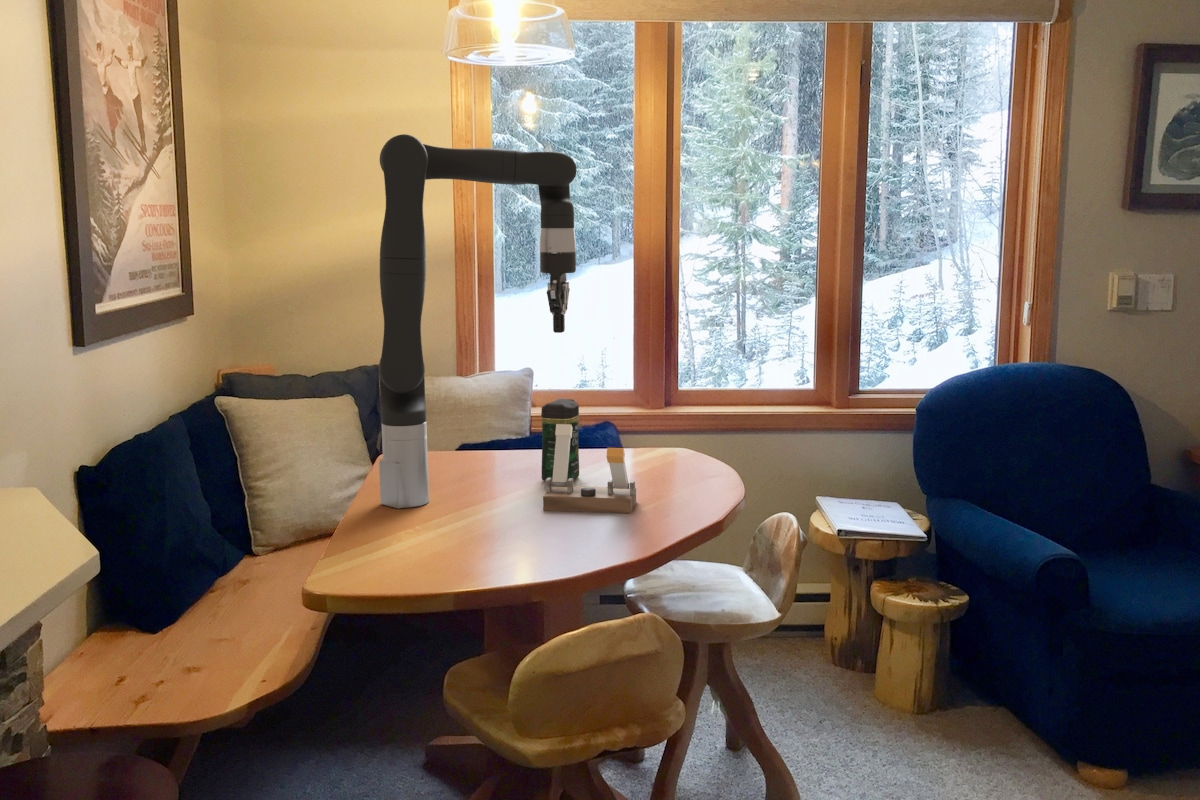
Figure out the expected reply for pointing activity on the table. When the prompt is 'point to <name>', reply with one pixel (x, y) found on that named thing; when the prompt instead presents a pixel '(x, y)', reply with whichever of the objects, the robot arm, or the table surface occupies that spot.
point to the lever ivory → (561, 455)
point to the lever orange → (617, 468)
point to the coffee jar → (550, 416)
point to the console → (589, 498)
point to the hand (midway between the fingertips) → (559, 332)
